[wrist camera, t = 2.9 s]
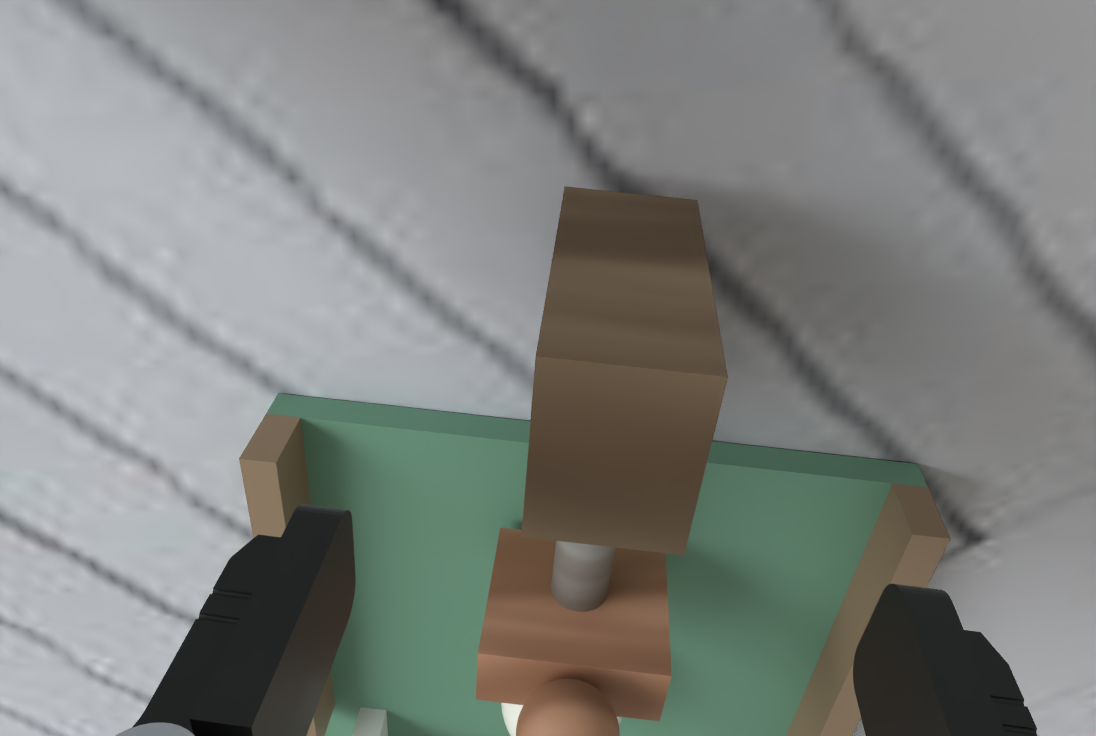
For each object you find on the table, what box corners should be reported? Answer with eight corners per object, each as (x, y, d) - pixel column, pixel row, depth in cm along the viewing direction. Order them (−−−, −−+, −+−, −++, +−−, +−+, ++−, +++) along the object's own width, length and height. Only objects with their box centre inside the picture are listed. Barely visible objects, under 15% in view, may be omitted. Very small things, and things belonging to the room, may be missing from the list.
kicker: (521, 182, 19) (471, 353, 13) (741, 204, 19) (792, 387, 13) (497, 579, 26) (459, 800, 20) (653, 596, 26) (660, 825, 20)
